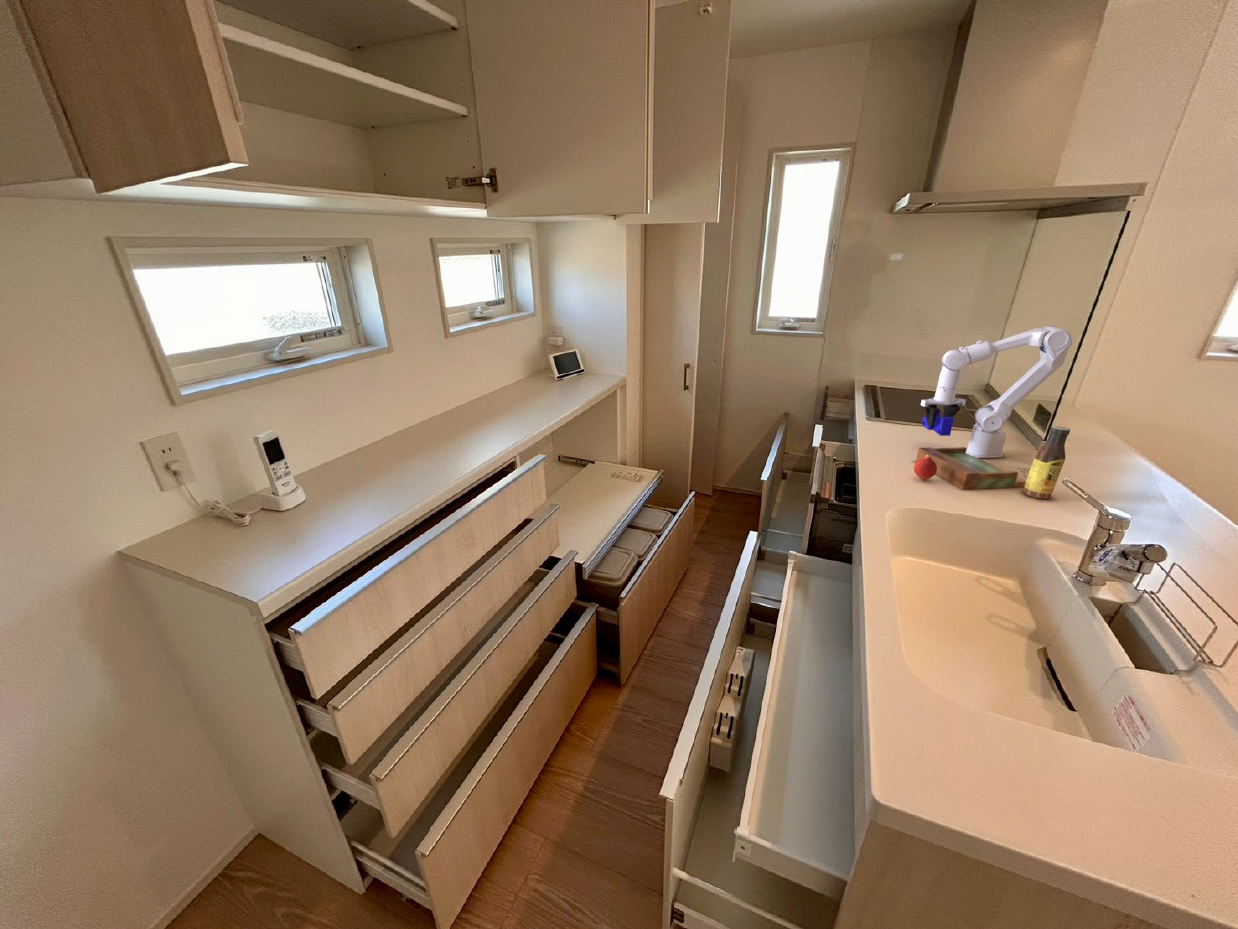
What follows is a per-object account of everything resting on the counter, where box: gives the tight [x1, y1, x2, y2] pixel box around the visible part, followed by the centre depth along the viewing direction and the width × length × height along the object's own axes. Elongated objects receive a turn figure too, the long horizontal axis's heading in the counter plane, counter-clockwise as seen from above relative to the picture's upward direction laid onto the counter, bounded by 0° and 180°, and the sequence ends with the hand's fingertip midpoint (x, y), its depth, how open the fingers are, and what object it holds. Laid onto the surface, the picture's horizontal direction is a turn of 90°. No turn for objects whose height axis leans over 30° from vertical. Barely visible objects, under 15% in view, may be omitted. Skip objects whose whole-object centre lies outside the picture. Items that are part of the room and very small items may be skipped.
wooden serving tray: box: [915, 446, 1026, 490], centre depth 153 cm, size 20×21×5 cm
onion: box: [913, 455, 937, 481], centre depth 148 cm, size 6×6×8 cm
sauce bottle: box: [1023, 425, 1071, 500], centre depth 136 cm, size 7×6×20 cm
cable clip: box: [921, 407, 955, 437], centre depth 170 cm, size 12×4×6 cm, turn 170°
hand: (937, 425), depth 171 cm, fingers closed on cable clip, 5 cm apart
